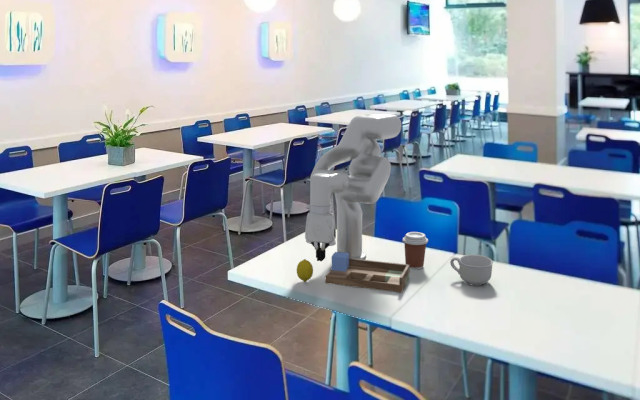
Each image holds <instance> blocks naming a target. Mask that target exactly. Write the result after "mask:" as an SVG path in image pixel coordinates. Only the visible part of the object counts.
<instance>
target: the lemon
mask: <svg viewBox="0 0 640 400" xmlns="http://www.w3.org/2000/svg"><path fill="white" fill-rule="evenodd" d="M313 267H314V266H313V264H312V263H311V261H309V260H308V259H302V260H300V261H299V262H298V264H297V266H296V274H297V275H296V276H297V277H298V279H300V280H301V281H303V283H306V282H307V281H309V280H310V279H311V278H312V277H313V274H314V268H313Z"/></svg>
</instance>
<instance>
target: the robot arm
mask: <svg viewBox="0 0 640 400" xmlns="http://www.w3.org/2000/svg"><path fill="white" fill-rule="evenodd" d="M401 130H402V120H401V119H400V117H399V116H398V115H395V114H377V113H375V114H373V113H369V114H364V115H356V116H354V117H353V118H352V119H351V120H350V122H349V123H348V126H347V127H346V129H345V131H344V134H343V136H342V137H341V140H340V141H339V143H338V145H336V146H334V147H332V148H331V149H329V150H328V151H326V152H325V153H324V154H322V156H320V157H319V158H318V160H317V161H316V162H315V165H314V167H313V170H312V172H311V174H310V178H309V179H310V182H309V184H310V185H309V186H310V187H309V189H310V190H309V192H310V193H309V196H310V199H309V201H310V202H309V204H306V209H307V210H309V212H308V213H307V216H306V222H305V230H304V239H305V242H306V244H310V245H312V247H314V250H315V258H316V261H317V262H323V261H324V260H325V259H326V249H328V247H333V246H335V245H336V251H334V252H333V254H334V253H335V252H341V253H349V258H352V259H361V260H366V258H367V254H366V252H365V251H363V210H362V208H361V205H360V204H366V205H367V204H368V205H369V204H370V205H372V204H375V203H376V202H377V201H379V198H380V197H381V194H382V192H383V191H384V189H385V187H386V184H387V183H388V180H389V178H390V176H391V171H392V164H391V161H390V160H389V159H388V158H387V157H384V156H380V155H381V153H382V150H381V146H380V144H379V143H378V141H377V140H388V139H393V138H396V137H398V135H399V134H400V133H401ZM347 162H350V165H349V166H348V173H346V172H344V171H339V170H333V169H332V168H334V167H335V166H337V165H341V164H343V163H347ZM333 194H334V196H335V203H336V219H335V214H334V212H333ZM333 254H332V255H333Z"/></svg>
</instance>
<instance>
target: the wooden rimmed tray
mask: <svg viewBox="0 0 640 400" xmlns="http://www.w3.org/2000/svg"><path fill="white" fill-rule="evenodd" d="M410 273H411V272H410V265H408V264H406V263H398V262H387V261H378V260H369V259H363V260H361V259H352V258H349V267H348V269H347V270H346V272H345V271H334V270H332V269H331V270H330V271H329V272H328V273H327V274H326V275H325V276H324V277H325V278H324V279H325V284H329V285H330V284H331V285H339V286H346V287H347V286H348V287H355V288H364V289H372V290H379V291H387V292H396V293H403V291H404V289H405V287H406V285H407V283H408V282H409V280H410Z"/></svg>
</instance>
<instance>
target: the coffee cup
mask: <svg viewBox="0 0 640 400" xmlns="http://www.w3.org/2000/svg"><path fill="white" fill-rule="evenodd" d="M402 242H403V244H404V245H403V246H404V260H405V264H408V265H410V269H411V270H421V269H423V268H424V267H423V266H424V265H425V258H426V257H425V255H426V250H427V249H426V248H427V247H426V246H427V244H428V242H429V239H428V238H427V237H426V234H425V233H423V232H418V231H410V232H407V233H406V234H405V235H404V237H402ZM420 268H421V269H420Z"/></svg>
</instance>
